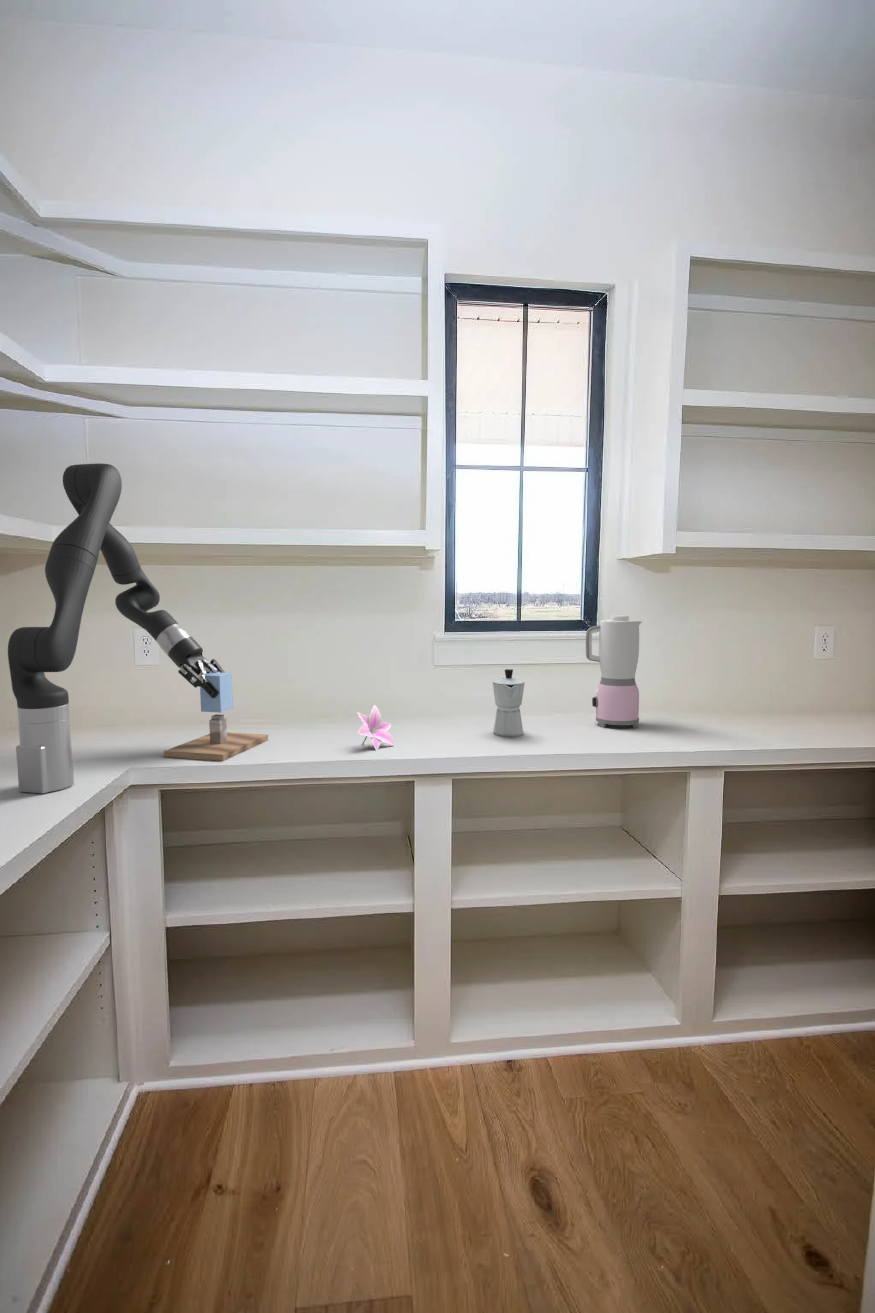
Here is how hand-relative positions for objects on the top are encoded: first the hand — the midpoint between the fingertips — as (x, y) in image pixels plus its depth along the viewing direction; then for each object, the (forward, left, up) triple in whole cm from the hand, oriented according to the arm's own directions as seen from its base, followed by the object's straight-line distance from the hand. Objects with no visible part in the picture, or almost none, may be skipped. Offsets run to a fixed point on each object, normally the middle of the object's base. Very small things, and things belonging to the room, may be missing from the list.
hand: (222, 693), depth 173 cm
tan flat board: (0, +2, -14) cm, 14 cm away
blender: (+52, -95, -14) cm, 109 cm away
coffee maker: (+35, -67, -14) cm, 77 cm away
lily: (+11, -36, -14) cm, 41 cm away
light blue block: (0, +2, -4) cm, 5 cm away
